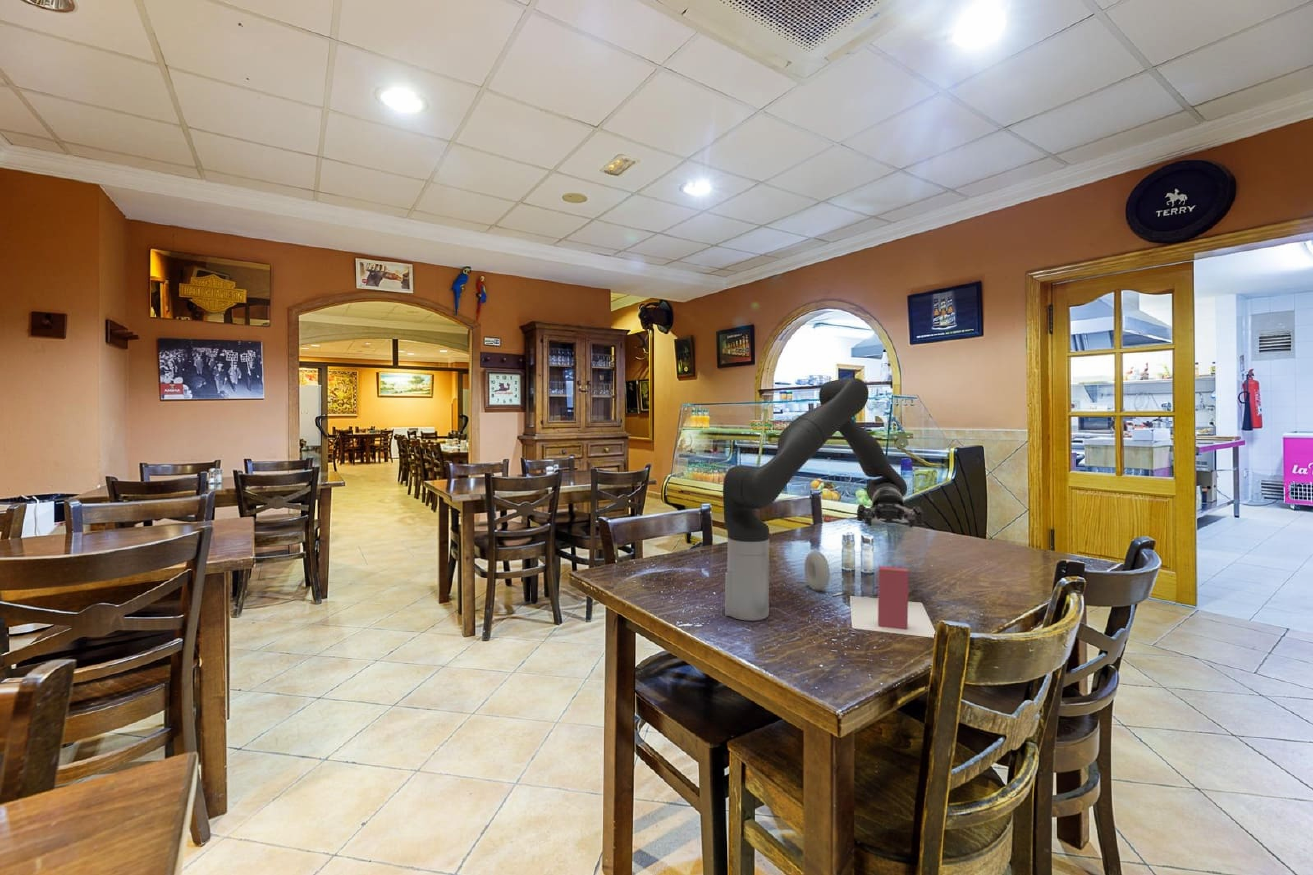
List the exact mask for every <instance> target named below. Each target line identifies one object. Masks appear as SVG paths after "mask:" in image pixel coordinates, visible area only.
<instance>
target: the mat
mask: <svg viewBox="0 0 1313 875" xmlns="http://www.w3.org/2000/svg"><path fill="white" fill-rule="evenodd" d="M849 602H850V617H851V629H854V630H864V631H871V632H873V631H874V632H880V633H891V634H900V635H907V636H918V637H924V638H925V637H926V638H932V639H935V638H934V634H935V632H936V630H935V628H934V626H933V623H932V621H931V619H930V617H929V615H928V613H927V611H926V608H925V606H924V605H923V603H922V602H919V601H918V602H917V601H908V628H907V630H906V629H898V628H889V627H880V626H878V597H877V598H876V597H868V596H867V597H864V596H855V595H849Z"/></svg>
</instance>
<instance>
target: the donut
mask: <svg viewBox="0 0 1313 875" xmlns="http://www.w3.org/2000/svg"><path fill="white" fill-rule="evenodd" d="M803 570H804V577H805V580H806V583H807V584H808V586H809V587H810V588H811V589H812V590H813V591H817V592H819V591H820V592H821V591H824V590H826V588H827V586H828V585H829V581H830V567H829V564H828V560H827V559H826V557H825V555H824V554H823V553H822V552H820V551H815V550H814V551H811V552H809V553H808V554H807V556H806V557H805V561H804V568H803Z"/></svg>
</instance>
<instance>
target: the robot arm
mask: <svg viewBox="0 0 1313 875" xmlns="http://www.w3.org/2000/svg"><path fill="white" fill-rule="evenodd" d="M818 399H819V403H820V405H819V406H817V407H814V408H812V409H810V410H808V411H806V412H804V413H803V414H801V415H799V416H797V417H796V418H794V419H793V420H792V421H791V422H790V423H789V424H788V425H787V426H786V427H785V428H784V429H783V430H782V431H781V433H780V434H779V437H778V440H777V451H776V454H775V455H774V456H773V457H772V458H771V459H770V460H769V461H768V462H766V463H765V464H763V465H761V466H752V465H750V466H749V465H734V466H732V467H730V468H729V469H728V470H727V472H726V474H725V476H724V478H723V485H722V500H723V501H722V502H723V504H722V505H723V522H724V526H725V528H726V530H727V531H726V532H727V561H726V562H727V563H726V564H727V565H726V566H727V569H726V572H725V574H724V576H725V577H724V578H725V579H724V580H725V581H724V591H725V592H724V615H725V616H726V617H731V618H734V619H736V620H741V621H761V620H764V619H766V618H768V617H769V613H770V612H769V608H770V605H769V604H770V598H769V597H770V592H769V591H770V528H769V526H768V525H767V524H766V522H764V521H763V520H761V519H760V518H759V517H758V516H757V513H755V511H754V510H762V509H767V508H768V507H770V506H771V505H772V504H773V503H774V502H775V501H776V499H777V498H778V497H779V496H780V494H781V493H782V492H783V491H784V489H785V488H786V487H787V485H788V483H789V482H790V481H791V480H792V479H793V477H794V476H795V475H796V474H797V473H798V472H799V471H800V470H801V468H802V467H803V466H804V465H805V464H806V463H807V462H808V461H809V460H810V459H811V458H812V457H813V456H814V455H815V454H816V453H817V452H818V451H819V450H820V449H821V448H822V447H823V446H824V445H825V444H826V442H827V441H828V440H829V439H831V437H832V436H833V435H835V434H836V432H837V431H838V432H839V433H840V435H841V436H842V437H843V439H844V440H845V441H846V443H847V444H848V446H849V447H850V448H851V450H852V451H853V454H854V456H855V458H856V460H857V462H858V464H859V466H860V468H861V470H862V471H863V474H864V475H865V476H867V477H868V478H875V479H872V480H870V481H869V482H867V484H866V486H865V490H866V495H867V497H868V499H869V500H870V501H871V506H870V507H866V506H865V505H864V504H858V506H857V510H856V518H857V519H856V520H857V521H858V522H863V520H864V524H865V525H868V527H872V522H875V523H876V522H877V523H878V522H882V523H887V524H893V523H896V522H899V523H902V524H904V523H907V524H908V525H907V526H908V528H913V527H914V526H916V524H917V523H918V524H923V523H924V519H923V518H924V512H923V510H922V508H921V507H920V506H919V505H915V506H914V507H912V508H908V507H907V506H905V501H904V497H905V496H906V495H907V492H908V486H907V482H906V481H905V479H904V478H903V476H901V475H900V474H899V473H898V471H896V470H895V468H893V466H892V465H891V464H890V462H889V460H888V459H887V456H886V454H885V453H884V452H885V451H883V449H882V447H881V445H880V443H879V442H878V440H877V439H876V438H875V437H874V436H873V435H872V434H870V433H869V432H868V431H867V430H866V429H864V428H863V427H862V426H861V425H860V424H858V423H857V422H856V420H854V419H853V418H854V417H855V416H856V415H857V414H859V413H860V412H861V411H862V410H864V408H865V407H866V404H867V403H868V399H869V388H868V385H867V384H866V382H865V381H864V380H863V379H860V378H857V377H846V378H839V379H834V380H833V379H832V380H830V381H825V382H824V383H823V384H822V385H821V386H820V389H819V392H818Z"/></svg>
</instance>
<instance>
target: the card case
mask: <svg viewBox="0 0 1313 875" xmlns="http://www.w3.org/2000/svg"><path fill="white" fill-rule="evenodd" d="M877 571H878V577H877V583H878V584H877V599H878V626H880V627H889V628H898V629H906V630H907V628H908V602H909V570H908V568H905V567H893V566H881V565H878V569H877Z"/></svg>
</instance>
